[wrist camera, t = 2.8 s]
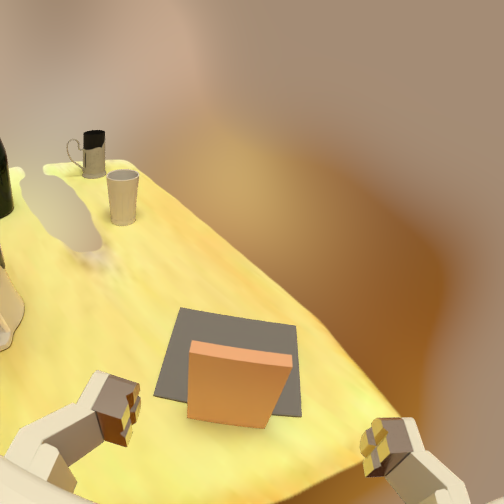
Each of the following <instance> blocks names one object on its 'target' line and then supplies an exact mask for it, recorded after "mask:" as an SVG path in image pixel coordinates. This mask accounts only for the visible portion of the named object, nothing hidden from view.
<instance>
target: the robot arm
mask: <svg viewBox="0 0 504 504" xmlns="http://www.w3.org/2000/svg"><path fill="white" fill-rule="evenodd" d="M23 314H24V302H23V300H22V298H21V296H20V295H19V294H18V292H17V291H16V289H15V288H14V286H13V284H12V282H11V281H10V279H9V276H8V274H7V272H6V269H5V263H4V257H3V253H2V249H1V245H0V351H2V350H4V349H7V348H8V347H9V346H10V345H11V342H12V338H13V333H14V331H15V329H16V328H17V326H18V325H19V323H20V321H21V319H22V317H23ZM139 391H140V385H139V383H136V382H132V381H129V380H126V379H123V378H120V377H117V376H114V375H111V374H108V373H105V372H102V371H99V370H96V371H95V372H94V373H93V375H92V377H91V378H90V380H89V382H88V384H87V385H86V387H85V389H84V391H83V393H82V394H81V396H80V398H79V400H78V402H77V404H75V403H71V404H69V405H67V406H65V407H63V408H61V409H59V410H57V411H55V412H53V413H51V414H49V415H47V416H45V417H43V418H41V419H39V420H37V421H35V422H33V423H31V424H28V425H26V426H24V427H22V428H20V430H19V431H18V433H17V435H16V436H15V438H14V440H13V442H12V443H11V445H10V447H9V449H8V450H7V452H6V454H5V456H4V457H3V456H1V455H0V504H98V503H95V502H93V501H90V500H88V499H85V498H83V497H80V496H78V495H76V494H73V492H74V489H75V487H76V484H77V481H76V478H75V477H74V475H73V474H72V472H71V471H70V469H69V468H68V467H69V466H70V465H72V464H73V463H75V462H76V461H78V460H79V459H80V458H82V457H83V456H85V455H86V454H87V453H89V452H90V451H92V450H93V449H94V448H96V447H97V446H99V445H100V444H101V443H103V442H104V440H105V441H108V442H111V443H114V444H117V445H121V446H124V447H128V444H129V441H130V439H131V436H132V433H133V431H132V425H133V424H135V423H136V422H137V419H138V416H139V412H140V408H141V398H140V397H139V396H138V394H139ZM371 426H372V427H371V428H369V429H367V430H366V431H365V432H364V433H363V435H362V437H361V440H360V451H361V454H362V455H363V456H364V457H365V460H364V462H363V467H364V472H365V477H381V476H386V477H385V478H386V480H387V481H388V482H389V483H390V485H391V486H392V487H393V489H394V490H395V491H396V492H397V494H398V495H399V496H400V498H401V499H402V500H403V501H404V502H405V504H471V503H470V499H469V497H468V493H467V490H466V487H465V484H464V482H462V481H461V480H460V479H459V478H458V477H457V476H456V475H455V474H453V473H452V472H451V471H450V470H449V469H448V468H447V467H446V466H445V465H443V464H442V463H441V462H440V461H439V460H438V459H437V458H436V457H435V456H433V455H432V454H431V453H430V452H429V451H425V449H424V446H423V443H422V440H421V437H420V434H419V432H418V428H417V426H416V423H415V420H414V419H413V418H410V417H409V418H399V417H398V418H376V419H374V420H373V422H372V423H371ZM485 504H504V496H502V497H500V498H497V499H495V500H492V501H490V502H488V503H485Z"/></svg>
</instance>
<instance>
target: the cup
mask: <svg viewBox="0 0 504 504" xmlns="http://www.w3.org/2000/svg"><path fill="white" fill-rule="evenodd" d="M138 181H139V173H138V172H137V171H134V170H129V169H120V170H114V171H111V172H109V173H108V174H107V186H108V194H109V203H110V212H111V222H112V223H113V224H115V225H118V226H127V225H130V224H132V223H134V222H135V212H136V199H137V188H138Z"/></svg>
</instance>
